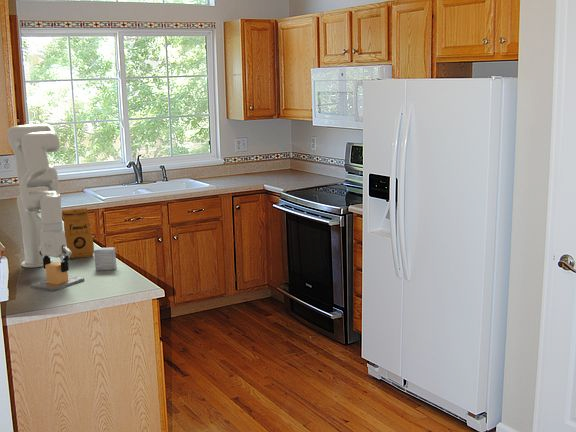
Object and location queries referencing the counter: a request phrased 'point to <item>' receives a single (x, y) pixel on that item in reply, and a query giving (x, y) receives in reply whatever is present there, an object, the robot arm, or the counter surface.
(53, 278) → the light orange block
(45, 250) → the robot arm
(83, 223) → the coffee package
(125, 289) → the counter surface
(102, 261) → the medicine box
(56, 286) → the base
